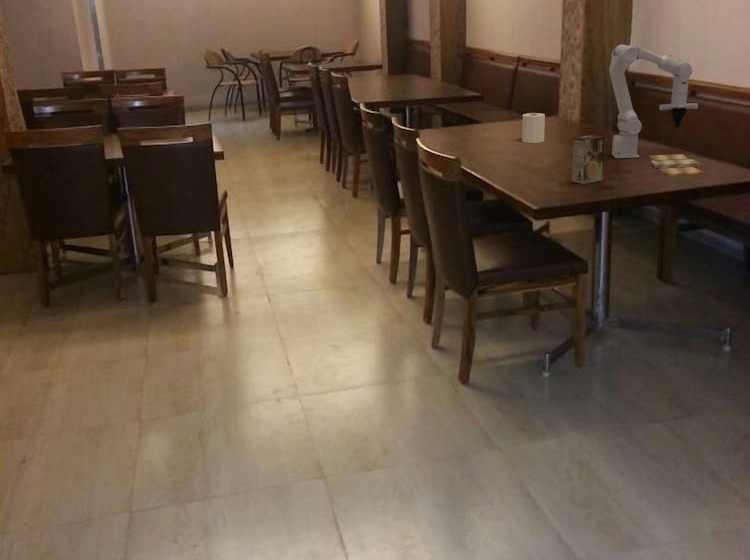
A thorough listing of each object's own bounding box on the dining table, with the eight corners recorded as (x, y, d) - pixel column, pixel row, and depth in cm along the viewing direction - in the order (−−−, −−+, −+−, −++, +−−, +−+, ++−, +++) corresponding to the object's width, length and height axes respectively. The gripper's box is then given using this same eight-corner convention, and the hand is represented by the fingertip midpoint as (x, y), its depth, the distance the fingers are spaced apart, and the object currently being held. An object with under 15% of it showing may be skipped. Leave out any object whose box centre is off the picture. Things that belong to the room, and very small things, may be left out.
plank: (667, 177, 280) (668, 174, 279) (658, 171, 288) (658, 168, 288) (703, 175, 280) (703, 172, 279) (692, 170, 288) (693, 167, 288)
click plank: (655, 163, 299) (655, 160, 298) (648, 158, 307) (649, 155, 307) (689, 162, 298) (689, 159, 297) (682, 157, 306) (682, 154, 306)
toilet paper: (537, 138, 359) (537, 112, 355) (548, 141, 350) (549, 115, 346) (517, 140, 356) (518, 114, 352) (528, 144, 347) (529, 117, 343)
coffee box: (590, 177, 283) (592, 134, 277) (602, 180, 277) (605, 136, 272) (571, 181, 279) (572, 137, 273) (583, 184, 273) (585, 139, 268)
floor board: (656, 168, 291) (656, 164, 290) (650, 164, 298) (650, 159, 298) (699, 167, 290) (699, 162, 289) (692, 162, 297) (692, 158, 296)
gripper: (664, 95, 304) (661, 129, 309) (701, 93, 303) (698, 128, 308) (659, 92, 311) (656, 126, 315) (695, 91, 309) (692, 125, 314)
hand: (676, 127), depth 312 cm, fingers closed
